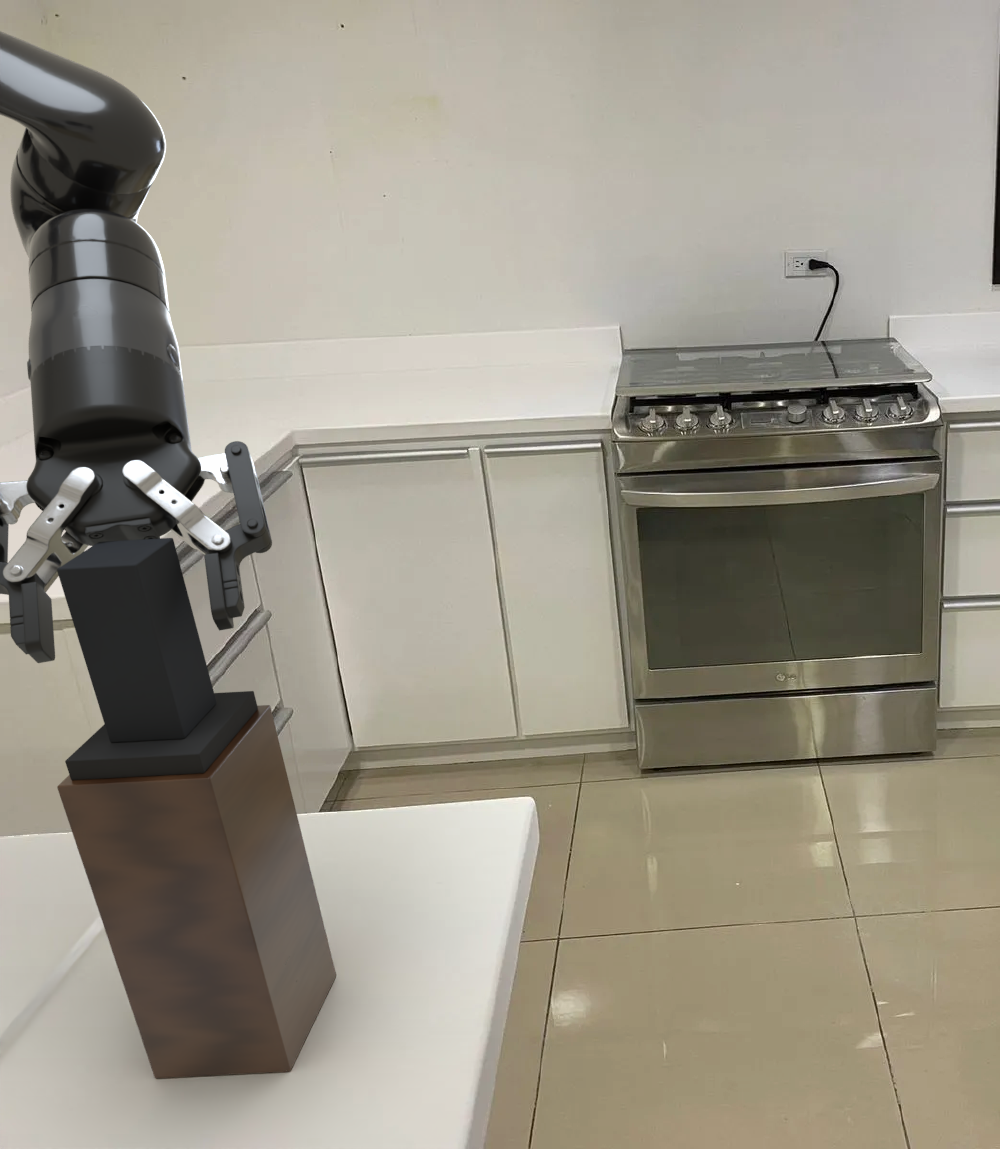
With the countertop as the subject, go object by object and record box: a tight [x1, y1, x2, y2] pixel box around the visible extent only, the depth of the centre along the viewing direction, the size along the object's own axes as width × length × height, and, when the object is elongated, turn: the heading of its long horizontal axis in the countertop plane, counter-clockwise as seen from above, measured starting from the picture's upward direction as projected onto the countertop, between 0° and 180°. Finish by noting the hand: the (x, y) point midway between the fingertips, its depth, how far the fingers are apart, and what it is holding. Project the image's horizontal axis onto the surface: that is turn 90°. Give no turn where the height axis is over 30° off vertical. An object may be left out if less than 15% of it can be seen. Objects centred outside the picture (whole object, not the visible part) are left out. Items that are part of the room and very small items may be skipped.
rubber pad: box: [64, 690, 258, 780], centre depth 61 cm, size 7×7×1 cm
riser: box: [56, 704, 337, 1079], centre depth 65 cm, size 8×8×20 cm
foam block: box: [57, 537, 216, 743], centre depth 59 cm, size 4×4×10 cm
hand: (133, 640), depth 58 cm, fingers open, 8 cm apart
